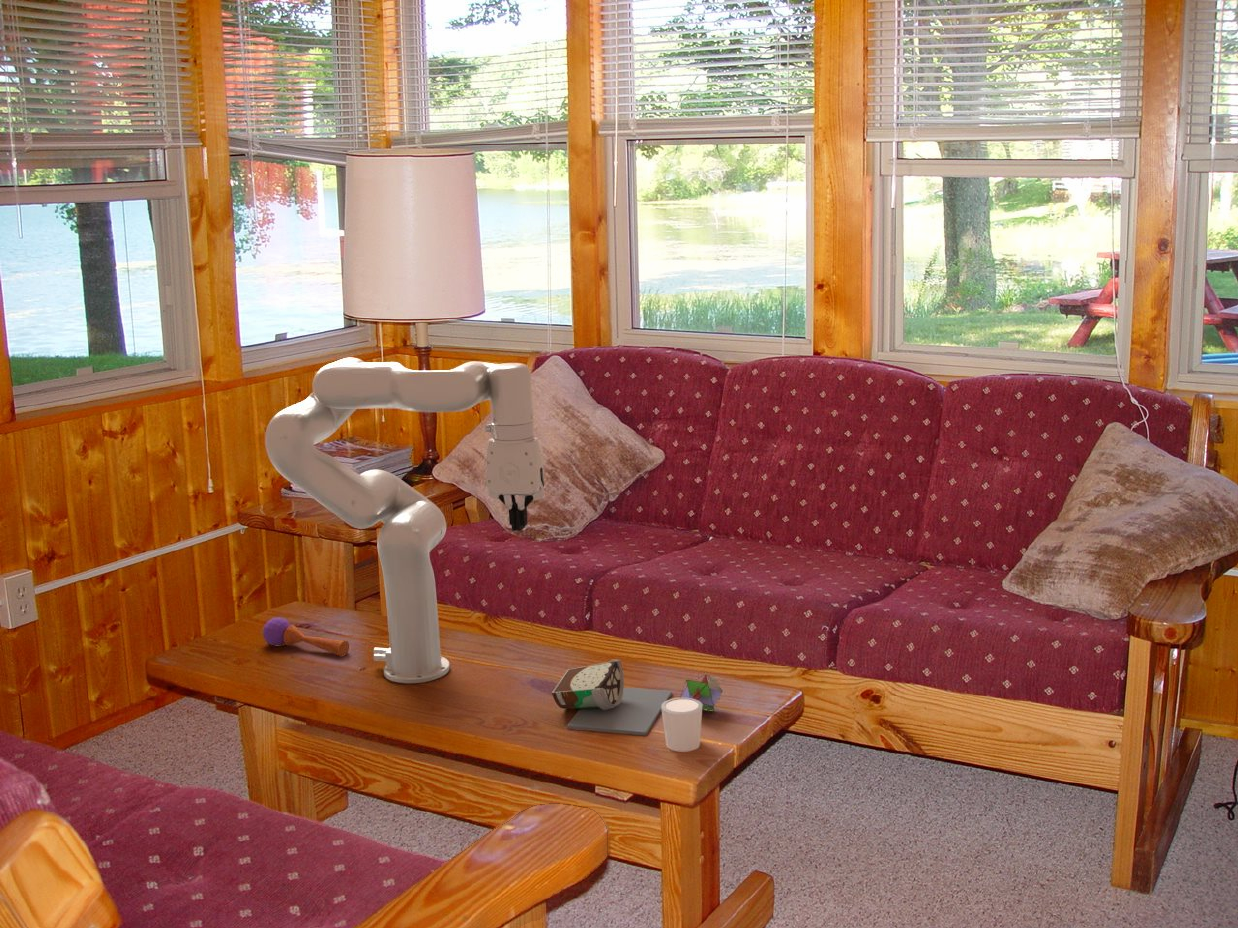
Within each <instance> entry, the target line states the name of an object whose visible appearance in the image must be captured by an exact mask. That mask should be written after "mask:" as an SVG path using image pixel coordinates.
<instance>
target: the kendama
mask: <svg viewBox="0 0 1238 928" xmlns="http://www.w3.org/2000/svg"><path fill="white" fill-rule="evenodd" d="M262 636H263V640H264V641H265V642H266V643H267V644H269V645H270V644H271V645H270V646H272V645H283V644H285V645H286V646H292V645H294V644H295V645H296V644H299V643H303V642H304V643H306V644H309V645H311V646H314V647H316V648H319V649H320V650H323V651H325V652H328V653H331V654H333V655H336V656H338V655H339V656H338V657H340V656H342V655H344V654H346V653H347V654H348V653H349V650H350V643H349V641H348V640H341V639H332V638H324V637H317V636H316V637H315V636H307V635H304V634H303V632H301V630H299V628H297V626H296V625H294V624H292V623H290V621H288V620H287V619H286V618H283V617H278V616H277V617H276V616H275V617H273V618H270V619H269V620H268V621H267V622H266V623H265V624H264V626H263V629H262ZM283 646H284V645H283ZM347 654H346V655H347ZM344 656H345V655H344ZM342 657H343V656H342Z"/></svg>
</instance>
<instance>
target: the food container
mask: <svg viewBox="0 0 1238 928" xmlns="http://www.w3.org/2000/svg"><path fill="white" fill-rule="evenodd" d="M624 685H625V678H624V669H623V664H622V660H621V659H610V661H605V662H601V663H600V662H599V663H595V664H589V665H584V666H580V667H575V668H568V669H567V670H566V671H565V673H564V675H563V676H562V677H561V679H560V680H559V681H558V683H557V684H556V686H555V688H554V689H553V691H552V692H551V694H552V697H553V700H554V701H555V703H556V705H557V706H558V707H559V709H564V710H565V709H580V708H590V707H600V708H601V709H602V710H608V709H611V708H614V707H615V706H616V705H618V704H619V703H620V702H621V700H622V696H623V690H624Z"/></svg>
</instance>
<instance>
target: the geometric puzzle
mask: <svg viewBox="0 0 1238 928" xmlns="http://www.w3.org/2000/svg"><path fill="white" fill-rule="evenodd" d="M696 677H698V678H697V680H698V679H700V677H699V675H698V676H696ZM702 677H703V678H702V680H701V681H699V680H698V681H697V680H691V679H692V678H689V679H688V678H687V679H685V683H686V687H685V689H684V686H683V687H682V689H684V690H683V691H682V693H681V694H679V695H680V696H679V698H692V699H696V700H698V701H700V702H701V703H702V704H703V705H702V709H707V711H706V710H704V712H702V715H704V713H706V712H709V711H708V710H713V711H715V705H716V703H718V701H719V700H720V698H721V696H722V693H723V691H724V690H723V689H722V688H721V685H720V684H719V682H718V680H717V679H716V678H713V677H711V676H710V675H708V674H707V673H704V674H703V675H702ZM717 706H718V705H716V708H717Z"/></svg>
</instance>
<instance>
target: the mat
mask: <svg viewBox="0 0 1238 928" xmlns="http://www.w3.org/2000/svg"><path fill="white" fill-rule="evenodd" d="M672 694H673V691H672V690H667V689H666V690H664V689H653V688H652V689H650V688H639V687H637V688H636V687H626V686H625V687H624V690H623V696H622V700H621V702H620V703H619V704H618V705H616V706H615V707H614V708H611V709H608V710H602V709H601V708H600V707H590V708H578V711H577V712H576V713H575V714H574V716H573V717H572V718H571V720H569V722H568V723H567V724H566V729H567V730H568V729H569V730H579V731H590V732H601V733H602V732H603V733H610V734H611V733H612V734H622V735H633V736H634V735H635V736H644V737H645V736H646V737H647V734H648V733H649V731H650V730H651V728H652V727H653V724H655V722H656V720H657V718H658V717H659V716H660V713H662V709H661V706H662V704H663V703H664V702H665V701H667V700H670V699H671V696H672Z"/></svg>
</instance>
